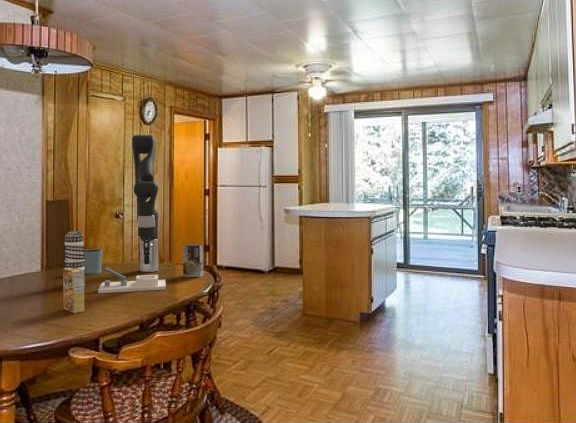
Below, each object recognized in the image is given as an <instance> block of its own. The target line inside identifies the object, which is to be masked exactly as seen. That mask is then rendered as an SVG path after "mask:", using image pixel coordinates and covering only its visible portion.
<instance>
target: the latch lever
mask: <svg viewBox="0 0 576 423" xmlns="http://www.w3.org/2000/svg"><path fill="white" fill-rule="evenodd" d="M104 273H108V274H109V275H112V276H114V277H116V278H118V279H120V280H123V281H124V280H127V276H126V275H123V274H121V273H119V272H116V271H114V270H113V269H110V268H109V267H106V268H104Z"/></svg>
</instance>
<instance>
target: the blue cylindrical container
mask: <svg viewBox="0 0 576 423" xmlns="http://www.w3.org/2000/svg"><path fill="white" fill-rule="evenodd" d="M84 250H85V252H83V254H85V256H83V257H84V258H85V260H84V261H83V262H84V270H85V272H84V274H85V275H99V274H101V273H102V262H103V261H102V260H103V258H102V257H103V249H101V248H92V249H91V248H90V249H84Z"/></svg>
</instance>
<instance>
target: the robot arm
mask: <svg viewBox="0 0 576 423" xmlns="http://www.w3.org/2000/svg"><path fill="white" fill-rule="evenodd" d="M131 139H132V140H131V147H132V155H133V163H134V164H133V165H134V182H135V183H134V186H133V194H134V195H135V196H136V222H137V236H138V237H139V238H140V239H139V240H140V241H139V243H140V244H139V246H140V248H139V249H140V250H139V252H140V259H139V260H140V272H142V273H151V272H152V273H154V272H157V271H159V232H158V231H159V228H158V227H159V212H158V210H157V209H155V204H156V200H157V196H158V193H159V185H158V183H157V182H156V181H155V179H154V177H155V176H154V175H155V174H154V172H155V169H154V164H155V160H156V159H155V158H156V150H157V145H156V144H157V143H156V137H155V136H154V135H151V134H135V135H132V138H131ZM141 155H146V156H145V157H144V158H143V159H142V156H141ZM148 199H149V200H148ZM151 243H152V244H153V246H152V270H151V271H143V268H142V247H141V244H142V245H143V251H144V253H143V254H144V264H149V256H150V250H151ZM145 251H148V252H145Z"/></svg>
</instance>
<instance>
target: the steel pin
mask: <svg viewBox="0 0 576 423" xmlns="http://www.w3.org/2000/svg"><path fill="white" fill-rule="evenodd" d="M152 246H153V244H152V243H151V250H150V256H149V264H144V254H143V253H144V251H143V245H142V244H141V247H142V268H143V271H151V270H152ZM145 252H148V251H145Z"/></svg>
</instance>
